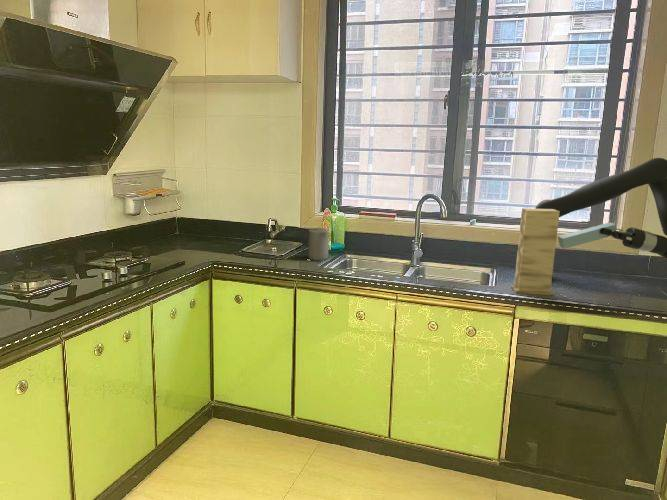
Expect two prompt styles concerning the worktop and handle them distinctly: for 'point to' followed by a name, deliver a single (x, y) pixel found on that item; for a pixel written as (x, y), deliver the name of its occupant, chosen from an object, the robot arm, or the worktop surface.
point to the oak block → (536, 251)
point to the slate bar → (584, 235)
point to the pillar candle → (318, 244)
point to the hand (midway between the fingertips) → (597, 229)
